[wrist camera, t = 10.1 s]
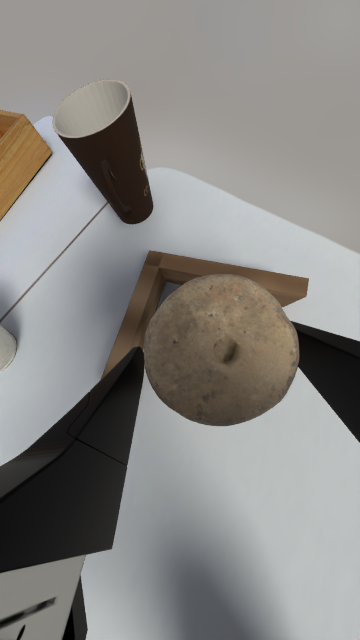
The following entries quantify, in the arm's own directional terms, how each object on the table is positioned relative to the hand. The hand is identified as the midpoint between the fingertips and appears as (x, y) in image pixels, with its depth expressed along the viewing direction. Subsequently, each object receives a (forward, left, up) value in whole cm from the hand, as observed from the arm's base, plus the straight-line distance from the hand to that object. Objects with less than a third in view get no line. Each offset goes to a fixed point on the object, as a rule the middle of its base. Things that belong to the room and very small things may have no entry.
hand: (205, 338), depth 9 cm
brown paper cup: (+18, +17, -9) cm, 26 cm away
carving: (0, 0, -8) cm, 8 cm away
